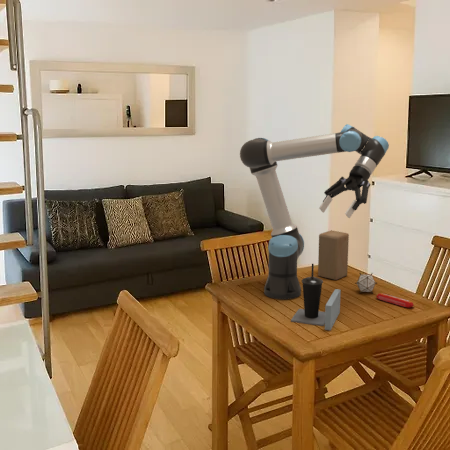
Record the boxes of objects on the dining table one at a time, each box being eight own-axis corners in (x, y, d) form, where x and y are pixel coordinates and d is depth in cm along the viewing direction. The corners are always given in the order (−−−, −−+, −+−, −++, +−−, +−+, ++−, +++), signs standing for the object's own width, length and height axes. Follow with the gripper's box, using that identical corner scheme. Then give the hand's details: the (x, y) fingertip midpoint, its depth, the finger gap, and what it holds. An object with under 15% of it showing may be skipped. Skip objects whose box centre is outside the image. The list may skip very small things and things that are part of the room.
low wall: (324, 329, 195) (325, 305, 193) (334, 311, 211) (335, 289, 209) (330, 330, 194) (331, 306, 192) (339, 312, 211) (340, 289, 209)
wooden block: (348, 275, 254) (349, 232, 249) (336, 281, 247) (337, 237, 242) (329, 271, 260) (330, 229, 256) (317, 276, 253) (318, 233, 249)
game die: (367, 299, 234) (380, 279, 235) (370, 299, 226) (383, 278, 227) (349, 287, 236) (361, 267, 236) (351, 287, 227) (364, 266, 228)
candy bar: (415, 308, 215) (415, 300, 214) (410, 310, 212) (410, 303, 212) (379, 297, 226) (379, 290, 226) (374, 299, 224) (374, 292, 223)
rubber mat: (290, 321, 202) (290, 320, 202) (298, 310, 213) (298, 308, 213) (323, 326, 198) (323, 324, 198) (330, 314, 209) (330, 312, 209)
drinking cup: (317, 321, 201) (318, 268, 196) (297, 317, 204) (298, 265, 200) (325, 314, 207) (326, 262, 202) (305, 310, 211) (307, 259, 206)
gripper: (392, 180, 212) (363, 224, 207) (343, 173, 232) (316, 213, 227) (383, 167, 208) (354, 212, 202) (334, 161, 227) (306, 202, 222)
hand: (334, 213), depth 214 cm, fingers open, 13 cm apart
